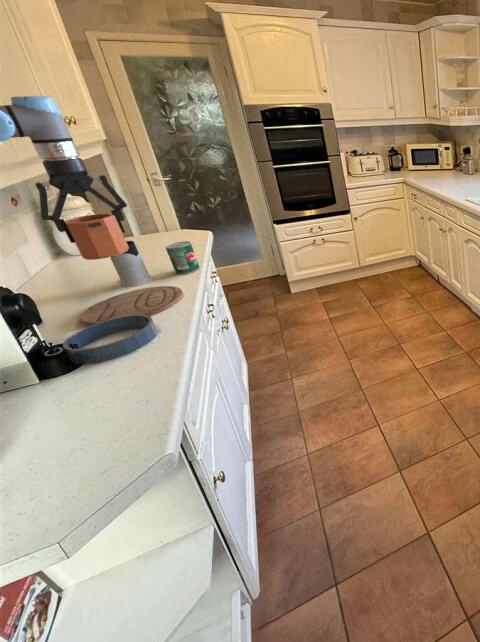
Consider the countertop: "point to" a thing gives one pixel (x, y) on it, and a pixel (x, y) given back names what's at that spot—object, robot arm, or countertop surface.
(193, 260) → the canned tomato
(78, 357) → the blue ring
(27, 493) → the countertop surface
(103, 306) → the trivet
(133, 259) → the glass holder
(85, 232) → the small pot
